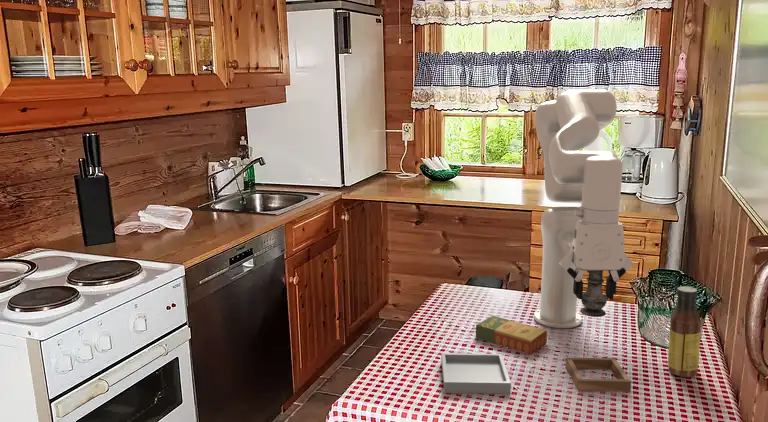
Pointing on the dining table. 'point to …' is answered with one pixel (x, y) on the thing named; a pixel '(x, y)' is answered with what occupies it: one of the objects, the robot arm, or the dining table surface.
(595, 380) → the wooden square frame
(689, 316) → the sauce bottle
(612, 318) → the dining table surface
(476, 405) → the dining table surface
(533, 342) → the carton
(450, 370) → the tray
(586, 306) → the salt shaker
